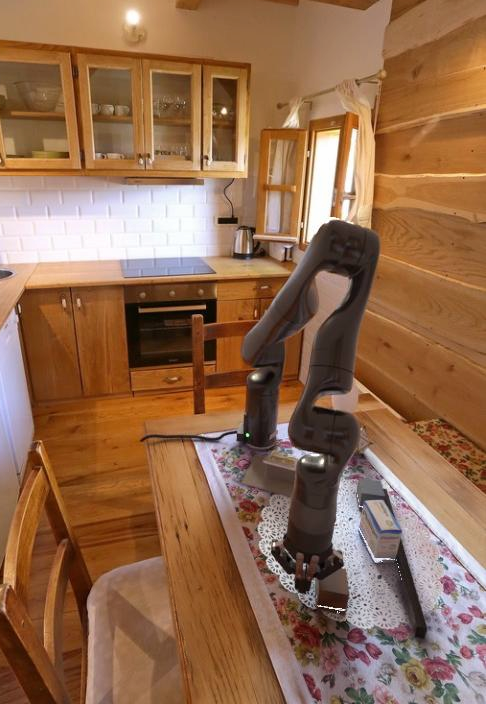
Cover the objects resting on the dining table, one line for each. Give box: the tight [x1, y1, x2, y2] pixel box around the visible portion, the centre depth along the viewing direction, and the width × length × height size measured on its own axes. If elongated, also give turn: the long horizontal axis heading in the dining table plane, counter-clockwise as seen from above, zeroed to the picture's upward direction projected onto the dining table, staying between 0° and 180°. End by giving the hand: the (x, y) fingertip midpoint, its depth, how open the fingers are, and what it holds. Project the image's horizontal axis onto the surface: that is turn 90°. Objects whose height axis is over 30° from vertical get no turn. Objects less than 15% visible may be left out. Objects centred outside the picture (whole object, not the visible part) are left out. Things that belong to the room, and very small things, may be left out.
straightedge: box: [383, 488, 428, 639], centre depth 82 cm, size 2×32×2 cm, turn 170°
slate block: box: [355, 477, 385, 512], centre depth 94 cm, size 5×5×5 cm
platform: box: [241, 450, 299, 498], centre depth 101 cm, size 12×18×7 cm, turn 69°
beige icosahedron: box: [354, 424, 374, 457], centre depth 111 cm, size 9×8×10 cm
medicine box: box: [357, 500, 403, 564], centre depth 82 cm, size 8×4×9 cm, turn 5°
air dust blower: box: [331, 378, 359, 415], centre depth 126 cm, size 8×8×18 cm
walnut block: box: [314, 567, 350, 616], centre depth 72 cm, size 5×5×5 cm
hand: (301, 589), depth 73 cm, fingers closed
